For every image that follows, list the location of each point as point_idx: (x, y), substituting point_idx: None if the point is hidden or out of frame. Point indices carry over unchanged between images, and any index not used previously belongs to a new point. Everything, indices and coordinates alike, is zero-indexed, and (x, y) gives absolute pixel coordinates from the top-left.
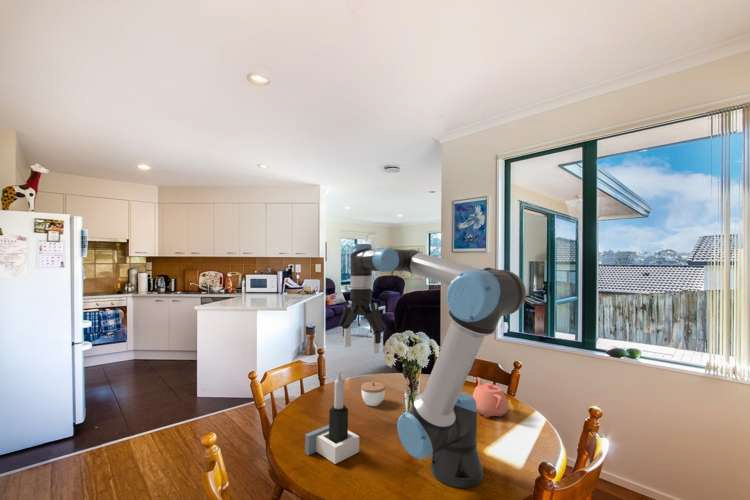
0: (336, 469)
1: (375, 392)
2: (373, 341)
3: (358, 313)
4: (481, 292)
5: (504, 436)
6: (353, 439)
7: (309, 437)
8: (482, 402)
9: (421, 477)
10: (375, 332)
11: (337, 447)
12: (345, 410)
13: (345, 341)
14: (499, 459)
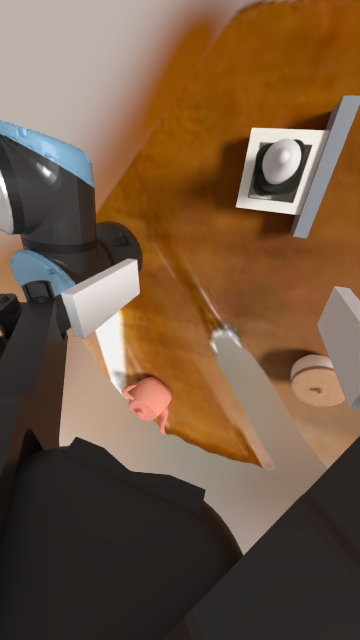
0: (242, 125)
1: (302, 369)
2: (95, 276)
3: (129, 492)
4: None
5: (122, 346)
6: (239, 189)
7: (341, 100)
8: (146, 387)
9: (134, 214)
10: (27, 284)
11: (250, 135)
12: (254, 177)
13: (344, 301)
14: None
